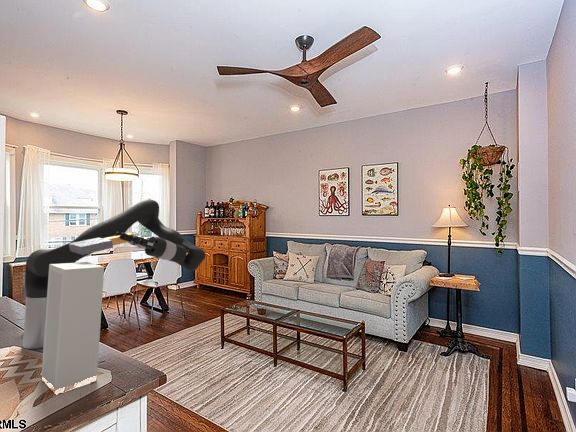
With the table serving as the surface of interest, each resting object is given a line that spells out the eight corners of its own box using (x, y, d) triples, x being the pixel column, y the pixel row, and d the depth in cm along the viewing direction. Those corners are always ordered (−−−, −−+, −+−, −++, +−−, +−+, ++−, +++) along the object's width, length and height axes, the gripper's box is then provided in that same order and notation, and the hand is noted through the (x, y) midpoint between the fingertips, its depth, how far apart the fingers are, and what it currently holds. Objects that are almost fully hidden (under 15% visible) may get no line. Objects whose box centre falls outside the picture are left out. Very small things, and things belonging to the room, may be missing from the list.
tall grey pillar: (41, 379, 87) (49, 264, 88) (79, 368, 94) (87, 262, 95) (55, 395, 79) (64, 269, 80) (96, 381, 87) (104, 266, 88)
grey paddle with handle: (69, 251, 101) (68, 243, 101) (125, 238, 115) (124, 232, 115) (82, 254, 95) (81, 246, 95) (139, 241, 109) (138, 234, 109)
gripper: (168, 260, 116) (124, 247, 103) (147, 255, 124) (104, 243, 111) (174, 241, 118) (132, 226, 105) (154, 237, 126) (113, 223, 113)
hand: (118, 235), depth 108 cm, fingers closed on grey paddle with handle, 3 cm apart
